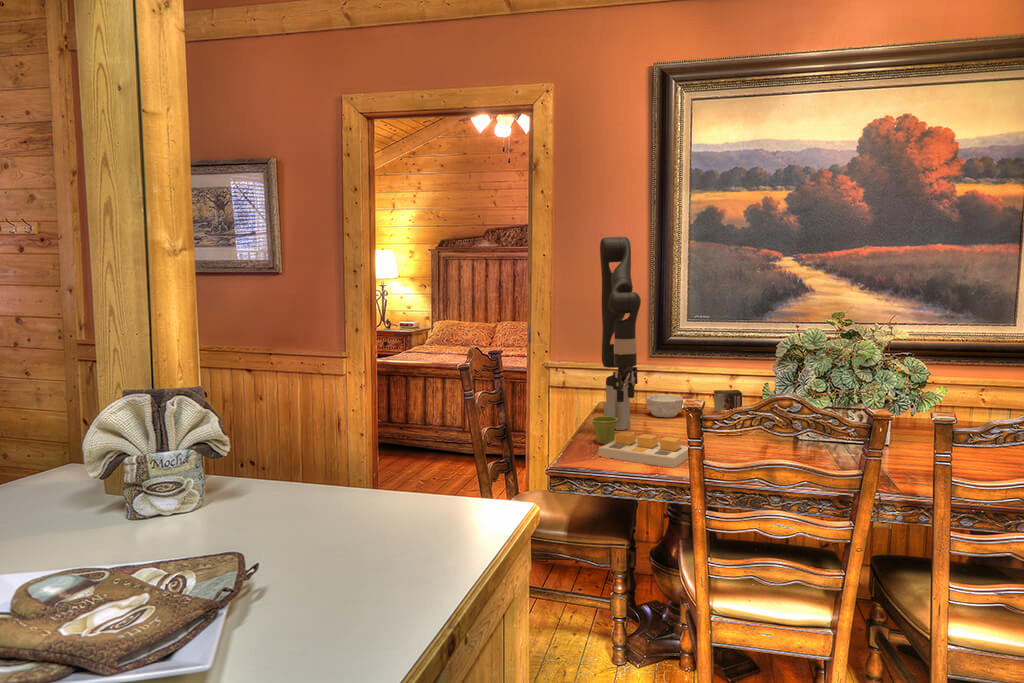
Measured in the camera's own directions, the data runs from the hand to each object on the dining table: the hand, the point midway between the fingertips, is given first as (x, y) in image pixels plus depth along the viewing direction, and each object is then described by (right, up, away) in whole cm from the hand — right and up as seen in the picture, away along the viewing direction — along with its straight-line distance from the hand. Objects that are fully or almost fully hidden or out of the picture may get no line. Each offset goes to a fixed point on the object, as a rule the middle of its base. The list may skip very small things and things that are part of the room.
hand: (625, 399), depth 221 cm
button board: (+6, -18, -4) cm, 20 cm away
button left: (0, -15, +1) cm, 15 cm away
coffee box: (+42, -15, +22) cm, 50 cm away
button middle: (+7, -15, -3) cm, 17 cm away
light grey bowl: (+27, -12, +58) cm, 65 cm away
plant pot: (-5, -17, +15) cm, 23 cm away
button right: (+13, -15, -8) cm, 22 cm away
